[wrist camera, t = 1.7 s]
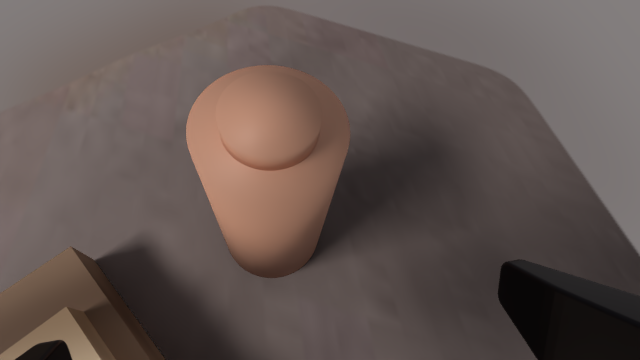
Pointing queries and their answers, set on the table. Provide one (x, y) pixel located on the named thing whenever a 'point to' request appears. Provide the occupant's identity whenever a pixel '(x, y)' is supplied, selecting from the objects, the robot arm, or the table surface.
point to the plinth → (74, 294)
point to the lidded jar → (269, 162)
